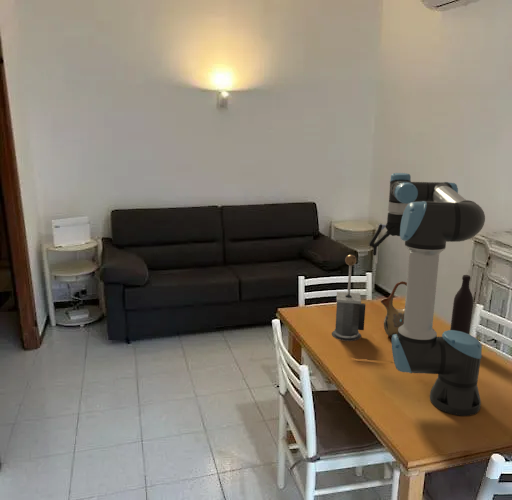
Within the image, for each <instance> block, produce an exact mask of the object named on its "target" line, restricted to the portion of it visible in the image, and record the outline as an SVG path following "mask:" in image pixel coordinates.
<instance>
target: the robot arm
mask: <svg viewBox="0 0 512 500" xmlns="http://www.w3.org/2000/svg"><path fill="white" fill-rule="evenodd" d="M387 207H388V208H387V211H388V213H387V218H386V224H383V223H381V222H380V223H379V224H378V228H377V230H376V231H375V233H374V234H373V236H372V238H371V239H370V241H369V243H368V244H369V245H368V246H369V247H371V248H373V250H372V254H373V256H375V265H377V264H378V260H379V259H378V258H379V246H380V245H381V243H383V242H384V241H385V240H386V239H387V238H388V237H389V236H393V237H395V236H397V237H400V240H401V241H403V242H404V246H405V248H406V249H408V251H409V254H408V263H407V264H408V266H407V278H406V283H407V286H406V287H405V288H406V290H405V291H406V292H405V300H404V301H405V303H404V304H405V305H404V308H405V313H404V324H403V325H402V326H400V327H399V328H398V334H395V335H392V338H391V351H392V352H391V353H392V358H393V363H394V366H395V368H396V370H397V371H399V372H401V373H409V374H425V375H426V374H427V375H428V374H429V375H430V374H431V375H437V378H436V380H435V382H434V383H433V384H432V385H433V386H432V388H431V389H430V391H429V392H430V393H429V401H430V403H431V404H432V405H433V406H434V407H435V408H437V409H439V410H440V411H442V412H445V413H446V414H451V415H454V416H461V417H465V416H466V417H468V416H473V415H476V414H478V412H480V410H481V403H482V400H481V396H480V392H479V391H480V390H479V388H478V381H479V373H480V368H481V367H480V366H481V360H482V356H483V355H482V350H483V349H482V348H483V347H482V343H481V341H480V340H479V339H478V338H476V337H475V336H473V335H471V334H470V333H469V334H467V333H464V332H461V331H455V330H450V329H448V330H445V331H443V332H442V334H441V336H437V335H438V334H437V331H435V329H434V328H433V324H434V313H435V303H436V292H437V291H436V290H437V283H438V272H439V261H440V254H441V252H443V251H445V250H446V246H447V245H446V244H447V242H449V243H451V242H452V243H453V242H456V243H457V242H465V241H468V240H471V239H472V238H473V237H476V236H477V235H478V234H479V233H480V232H481V231H482V229H483V228H484V226H485V222H486V214H485V211H484V209H483V208H482V207H481V206H480V205H479V204H478V203H476V202H475V201H473V200H468V199H466V198H465V197H464V196H462V195H461V194H460V193H459V188H458V185H457V183H455V182H448V181H444V182H440V181H439V182H436V181H435V182H433V181H432V182H431V181H429V182H427V181H412V180H411V174H410V173H405V172H395V173H391V175H390V180H389V196H388V206H387ZM384 229H386V230H387V231H385V233H383V235H382V236H381V237H380V238H378V237H379V235H380V234H381V232H382V231H383V230H384ZM377 238H378V240H377Z"/></svg>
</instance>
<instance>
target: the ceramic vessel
mask: <svg viewBox="0 0 512 500" xmlns="http://www.w3.org/2000/svg"><path fill="white" fill-rule="evenodd" d="M400 285H404V286H406V287H407V281H399V282H397V283H396V284H395V285H394V287H393V289H392V291H391V293H390V295H389V296H388V297H385V298H382V299H381V300H380V303H381V305H383V306H384V307H385V309H386V316H385V318H384V319H383V329H384V331H385V334H386V335H387V336H388V337H389V338H391V339H392V335H395V334H398V328H399V327H400V326H402V325H403V324H404V313H405V307H404V308H400V309H399V308H395V307H394V305H393V304H394V303H393V301H394V298H395V297H394V296H395V294H396V290H398V289H397V288H398V287H399V286H400Z"/></svg>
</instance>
